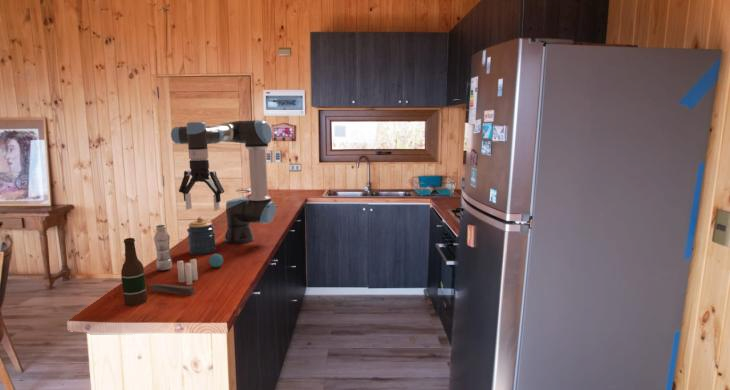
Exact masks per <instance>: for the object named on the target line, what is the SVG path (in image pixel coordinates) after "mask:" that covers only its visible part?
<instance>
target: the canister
mask: <svg viewBox="0 0 730 390" xmlns="http://www.w3.org/2000/svg"><path fill="white" fill-rule="evenodd" d="M196 219H197V220H194V221H191V222H190V223H188V225H187V226H188V228H187V229H186V231H187V234H188V235H187V242H188V252H189V254H191V255H195V256H196V255H207V254H211V253H213V252H215V251H216V248H217V246H216V235H215V234H216V233H215V231H214V229H215V226H214V225H213V222H212V221H210V220H208V219H203V217H200V216H199V217H197V218H196Z"/></svg>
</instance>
